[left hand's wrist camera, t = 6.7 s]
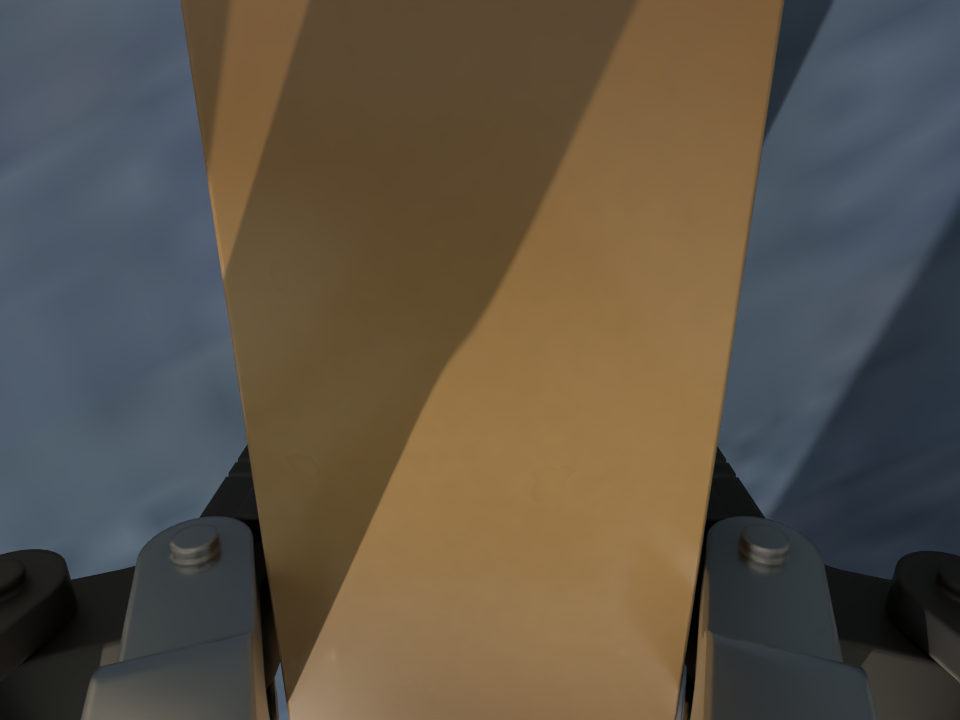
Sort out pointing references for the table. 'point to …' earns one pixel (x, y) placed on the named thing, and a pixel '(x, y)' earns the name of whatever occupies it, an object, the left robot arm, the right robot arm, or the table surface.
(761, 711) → the left robot arm
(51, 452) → the table surface
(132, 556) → the table surface
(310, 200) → the post
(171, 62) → the table surface
